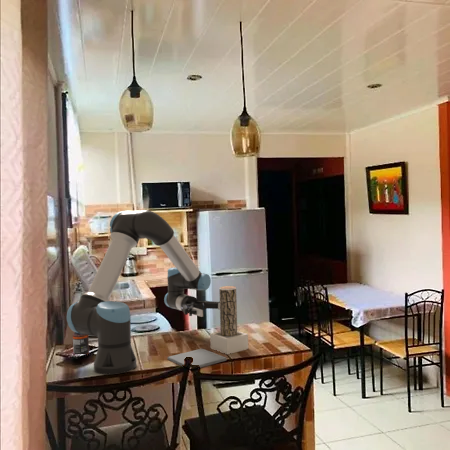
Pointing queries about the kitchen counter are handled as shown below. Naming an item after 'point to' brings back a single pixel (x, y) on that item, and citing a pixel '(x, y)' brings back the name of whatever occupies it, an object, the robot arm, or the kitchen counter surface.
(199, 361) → the mat
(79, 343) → the supplement bottle
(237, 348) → the box
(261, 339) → the kitchen counter surface
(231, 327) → the bark pattern cylinder
